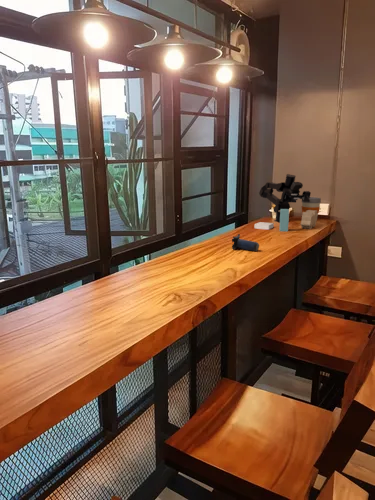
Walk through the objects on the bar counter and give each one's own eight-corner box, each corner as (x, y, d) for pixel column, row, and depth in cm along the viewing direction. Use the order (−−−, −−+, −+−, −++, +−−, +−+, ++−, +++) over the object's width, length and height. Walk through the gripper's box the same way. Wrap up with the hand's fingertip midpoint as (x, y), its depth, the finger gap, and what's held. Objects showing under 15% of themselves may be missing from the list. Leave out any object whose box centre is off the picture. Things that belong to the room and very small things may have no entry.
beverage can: (231, 252, 187) (255, 256, 182) (230, 237, 184) (255, 241, 179) (238, 245, 195) (261, 249, 189) (238, 230, 191) (262, 234, 186)
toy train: (300, 229, 238) (301, 212, 236) (307, 225, 253) (308, 209, 250) (309, 230, 236) (310, 213, 233) (316, 225, 250) (317, 210, 248)
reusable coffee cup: (317, 218, 277) (319, 197, 273) (320, 221, 265) (322, 199, 261) (299, 218, 279) (300, 197, 275) (301, 221, 267) (302, 198, 263)
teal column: (279, 229, 236) (280, 209, 233) (287, 230, 235) (288, 209, 233) (279, 231, 232) (280, 210, 229) (287, 231, 231) (289, 210, 228)
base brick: (259, 226, 249) (259, 222, 248) (273, 228, 244) (273, 223, 244) (254, 228, 241) (254, 224, 241) (268, 230, 237) (268, 225, 236)
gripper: (279, 180, 245) (291, 189, 232) (305, 180, 250) (319, 188, 237) (276, 197, 250) (287, 206, 237) (302, 196, 255) (315, 205, 242)
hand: (302, 201), depth 238 cm, fingers open, 9 cm apart
